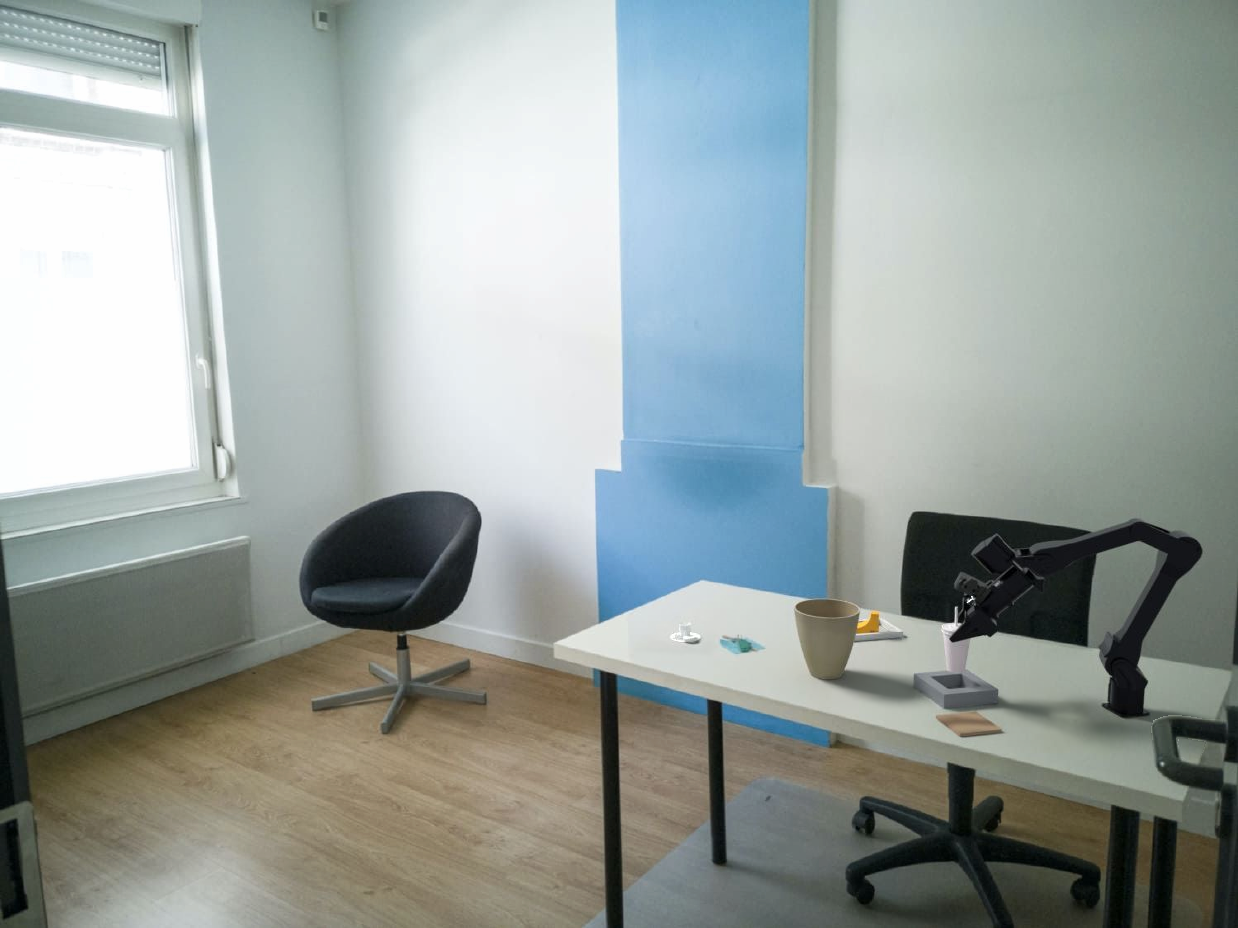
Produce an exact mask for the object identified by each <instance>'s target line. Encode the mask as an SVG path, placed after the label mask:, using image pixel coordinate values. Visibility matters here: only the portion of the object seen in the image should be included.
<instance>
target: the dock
mask: <svg viewBox="0 0 1238 928" xmlns="http://www.w3.org/2000/svg"><path fill="white" fill-rule="evenodd" d="M912 686H913V687H914V688H915V689H916V690H918V691H919V692H920V693H922V694H923V695H925V696H926V697H928V698H929V699H930V700H932V701H933V702H934V703H936V705H938V706H939V707H940V708H942V709H950V708H959V707H960V708H961V707H970V706H979V705H980V706H981V705H991V704H998V703H999V688H997V687H995V686H994V685H992V684H991V683H989V682H988V681H986V680H985V679H982V678H981V677H979V675H976V674H975V673H973V672H971V671H970V670H968V669H967V668H966V669H965V672H964V673H952V672H949V671H948V670H947V669H946V670H937V671H936V670H935V671H927V672H915V673H913V685H912Z"/></svg>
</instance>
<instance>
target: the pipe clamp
mask: <svg viewBox="0 0 1238 928" xmlns="http://www.w3.org/2000/svg"><path fill="white" fill-rule="evenodd" d="M879 618H880V611H877V610H876V611H875V610H871V611H870V616H869V618H867V619H868V620H867V621H863V622H861V623H858V626H857V632H856V634H863V633H875V632H880V625H879Z"/></svg>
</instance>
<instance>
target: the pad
mask: <svg viewBox="0 0 1238 928" xmlns="http://www.w3.org/2000/svg"><path fill="white" fill-rule="evenodd" d="M935 719H936V720H938V721H939V723H941V724H943V725H944V726H946V727H947V728H948V729H949V730H951V731H952V732H953V733H955V734H956V735H957V736H958V737H968V736H969V737H970V736H979V735H987V734H997V733H1003V729H1002V728H1001V727H999V726H998V725H997V724H995V723H994V722H992V721H991V720H989V719H988V718H986V717H985V716H983V714H981V713H980V712H978V711H977V710H975V711H965V712H957V713H947V714H938V715H935Z"/></svg>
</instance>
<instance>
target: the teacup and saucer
mask: <svg viewBox="0 0 1238 928" xmlns="http://www.w3.org/2000/svg"><path fill="white" fill-rule="evenodd" d="M691 625H692V624H691V622H687V621H683V622H679V623H678V627H679V628H678V630H679V632H675V633H672V634H671V635H670V636H669V637H670V639H671V640H672V641H675V642H679V643H694V642H697V641H699V640H701V638H702V637H701V635H699V633H695V632H691V631H692V630H691V627H692V626H691ZM676 634H677V635H676ZM675 635H676V636H680V638H681V639H682V640H680V639H677V638H675V637H676V636H675ZM673 638H675V639H673ZM676 639H677V640H676Z"/></svg>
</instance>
